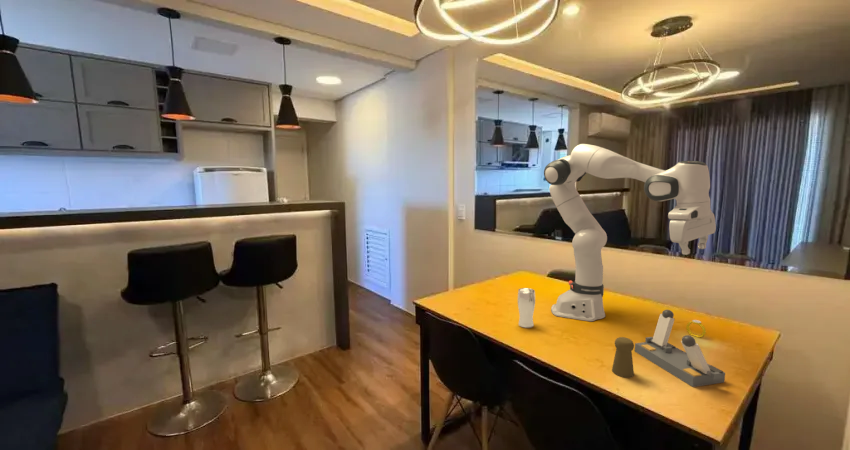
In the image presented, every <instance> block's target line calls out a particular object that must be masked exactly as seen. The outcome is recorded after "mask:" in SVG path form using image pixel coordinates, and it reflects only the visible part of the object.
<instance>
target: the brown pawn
mask: <svg viewBox="0 0 850 450" xmlns="http://www.w3.org/2000/svg"><path fill="white" fill-rule="evenodd" d="M614 345H615V353H614V358H613V364H612V366H611V371H612V374H614V375H615V376H617V377H620V378H626V379H629V378H633V377H634V376H635V373H634V361H633V350H634V349H635V344H634V342H633V340H632V339H630V338H627V337H623V336H618V337H616V339H615V340H614Z"/></svg>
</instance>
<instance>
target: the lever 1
mask: <svg viewBox="0 0 850 450" xmlns="http://www.w3.org/2000/svg"><path fill="white" fill-rule="evenodd" d="M674 323H675V318H674V312H673V311H672V310H670V309H664V310H663V311H662V313H660V314H659V317H658V320H657V324H656V327H655V329H654V334H653V336H652V337H653V339H651V340H650V342H652V343H654V344H655V345H657V346H659V347H661V348H663V349H664V347H667V343H669V339H670V337H671V336H670V335H671V334H672V333H671V332H672V329H673V325H674Z"/></svg>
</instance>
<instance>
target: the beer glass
mask: <svg viewBox="0 0 850 450" xmlns="http://www.w3.org/2000/svg"><path fill="white" fill-rule="evenodd" d="M535 305H536V291H535V289H533V288H529V287H522V288H519V289H518V292H517V307H518V314H519V320H518V326H519V327H521V328H523V329H531V328H533V327H534V326H535V325H534V321H533V320H534V317H533V316H534V311H535V308H536V307H535Z"/></svg>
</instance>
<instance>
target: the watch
mask: <svg viewBox="0 0 850 450" xmlns="http://www.w3.org/2000/svg"><path fill="white" fill-rule="evenodd" d="M692 324H694V325H698V326H700V327H701V330H702V333H701V335H697V334H694V333H693V332H692V330H691V328H690V325H692ZM686 332H687V333H688V334H689V336H692V337H694V338H698V339H699V338H703V337H705V335H706V332H707V329H706V327H705V326H704V325H703V324H702V321H700V320H699V319H698V320H697V319H692V320H691V321H689V322H688V323H687V324H686Z"/></svg>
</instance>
